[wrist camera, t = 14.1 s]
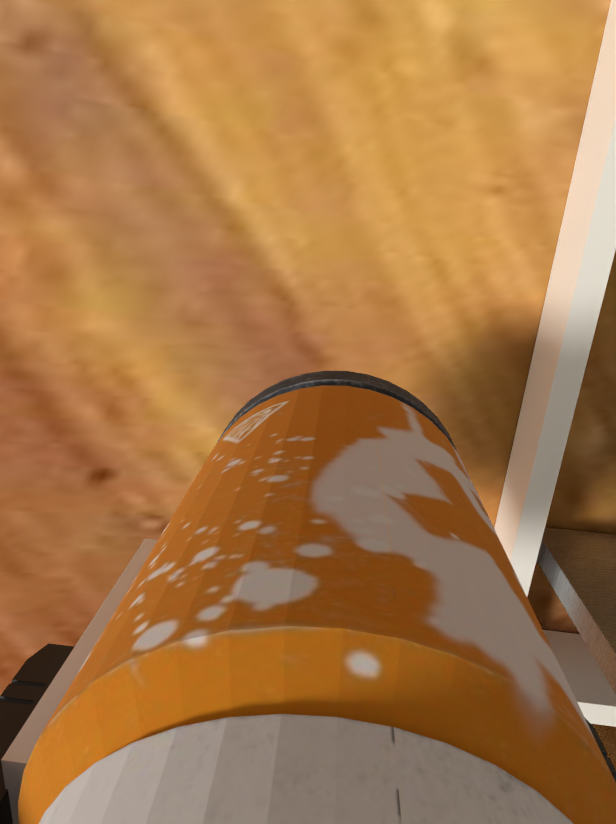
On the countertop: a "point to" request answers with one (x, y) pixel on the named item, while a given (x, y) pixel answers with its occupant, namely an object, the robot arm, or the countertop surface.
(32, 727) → the robot arm
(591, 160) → the white rectangular frame
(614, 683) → the panel
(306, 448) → the canister
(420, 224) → the countertop surface
